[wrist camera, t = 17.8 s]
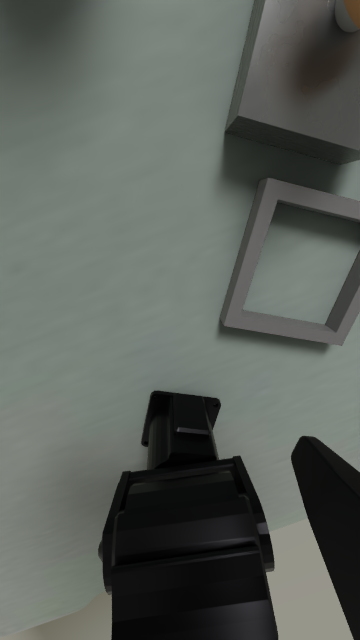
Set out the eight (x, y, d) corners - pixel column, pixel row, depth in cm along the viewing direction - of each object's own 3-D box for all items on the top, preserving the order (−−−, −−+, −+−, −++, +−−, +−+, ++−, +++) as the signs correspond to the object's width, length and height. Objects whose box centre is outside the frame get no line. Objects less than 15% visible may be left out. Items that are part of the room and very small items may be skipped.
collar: (330, 337, 22) (341, 345, 20) (219, 318, 20) (223, 325, 19) (390, 213, 18) (409, 214, 17) (259, 180, 17) (268, 177, 15)
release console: (340, 164, 17) (376, 155, 14) (224, 132, 15) (237, 115, 13) (428, -60, 13) (500, -133, 10) (283, -124, 12) (320, -225, 9)
